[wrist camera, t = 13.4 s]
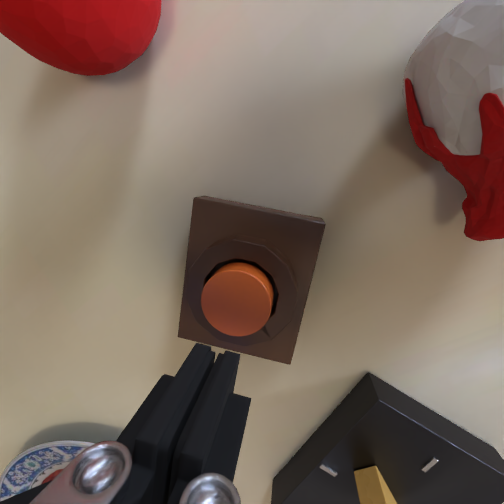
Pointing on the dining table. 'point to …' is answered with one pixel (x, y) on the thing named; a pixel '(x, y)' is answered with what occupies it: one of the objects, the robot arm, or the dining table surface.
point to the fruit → (81, 31)
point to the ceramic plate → (38, 466)
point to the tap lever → (372, 487)
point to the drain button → (237, 299)
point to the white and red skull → (464, 107)
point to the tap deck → (391, 454)
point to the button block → (259, 255)
